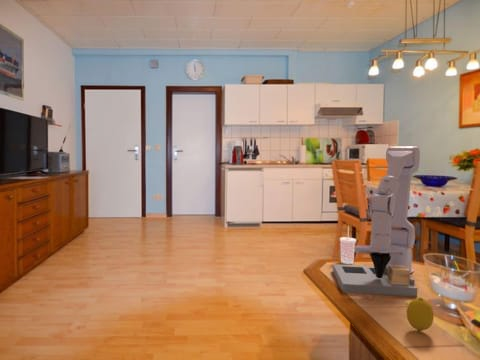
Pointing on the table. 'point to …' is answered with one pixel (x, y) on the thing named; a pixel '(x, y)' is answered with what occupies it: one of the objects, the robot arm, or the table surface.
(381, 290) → the platform
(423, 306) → the lemon
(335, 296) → the table surface
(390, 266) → the block
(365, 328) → the table surface
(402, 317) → the table surface
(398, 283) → the pad
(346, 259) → the beverage cup
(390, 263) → the robot arm
